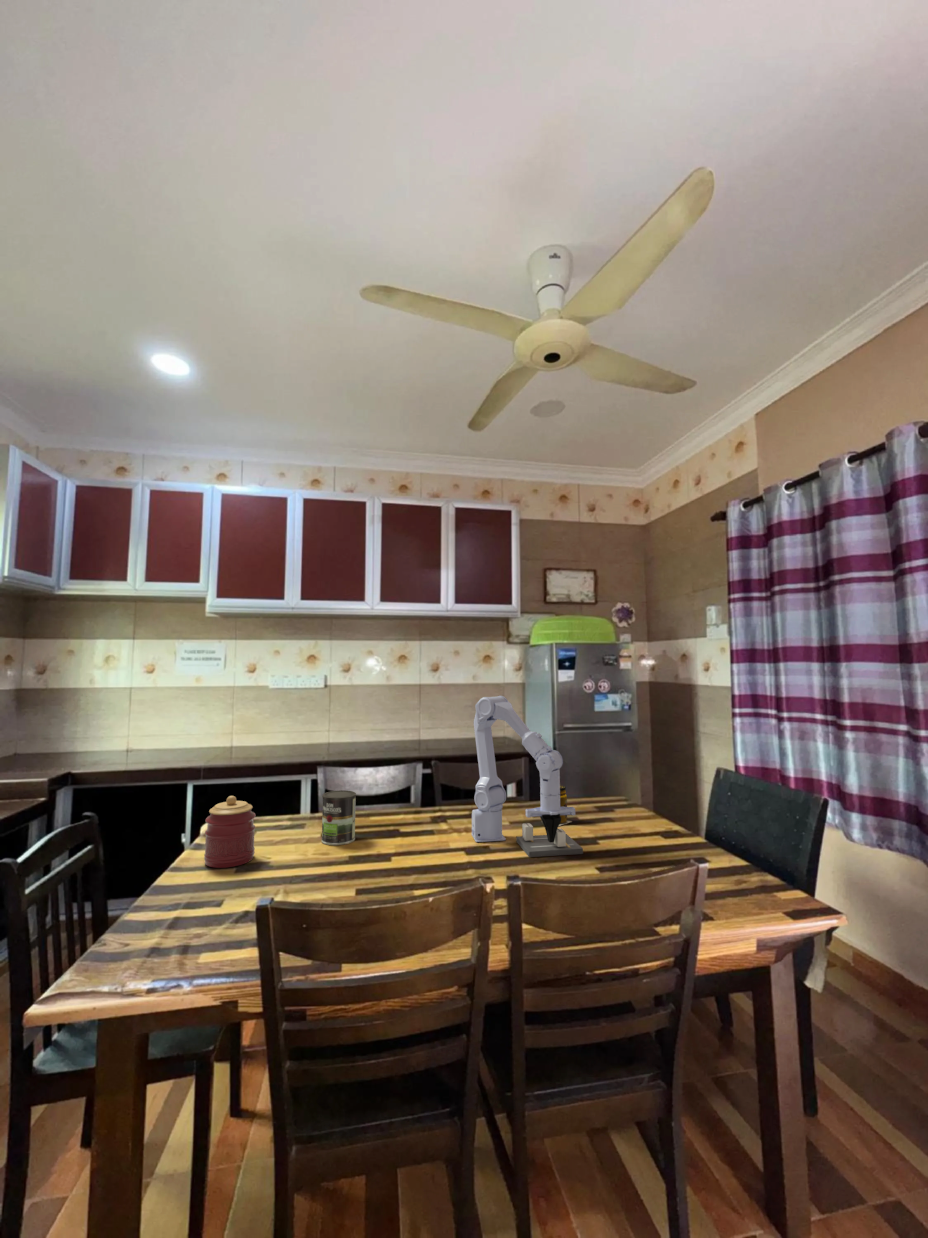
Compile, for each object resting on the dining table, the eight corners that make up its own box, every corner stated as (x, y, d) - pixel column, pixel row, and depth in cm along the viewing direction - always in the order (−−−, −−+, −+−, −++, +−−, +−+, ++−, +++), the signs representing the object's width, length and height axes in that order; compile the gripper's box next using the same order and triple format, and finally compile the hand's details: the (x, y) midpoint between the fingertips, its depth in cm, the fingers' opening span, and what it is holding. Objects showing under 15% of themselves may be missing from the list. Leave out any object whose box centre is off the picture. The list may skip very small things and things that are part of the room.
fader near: (557, 846, 160) (557, 832, 160) (553, 843, 163) (553, 828, 164) (565, 846, 160) (565, 831, 161) (561, 842, 164) (561, 828, 164)
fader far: (525, 840, 165) (525, 826, 166) (522, 837, 169) (522, 823, 169) (533, 840, 166) (533, 826, 166) (529, 836, 169) (529, 823, 170)
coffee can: (343, 847, 166) (343, 799, 167) (314, 843, 169) (315, 796, 171) (361, 837, 175) (362, 791, 176) (334, 833, 179) (335, 789, 180)
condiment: (572, 822, 191) (571, 786, 192) (557, 827, 185) (557, 790, 186) (555, 818, 197) (554, 783, 198) (540, 822, 191) (540, 787, 192)
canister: (243, 849, 164) (244, 788, 165) (262, 860, 155) (264, 796, 156) (196, 860, 155) (199, 796, 156) (214, 873, 146) (216, 804, 147)
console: (529, 857, 156) (529, 851, 157) (516, 841, 170) (516, 836, 170) (583, 854, 159) (582, 848, 159) (566, 838, 173) (566, 833, 173)
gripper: (530, 797, 157) (530, 847, 156) (578, 795, 160) (579, 844, 159) (523, 792, 164) (523, 839, 163) (570, 790, 167) (571, 836, 166)
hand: (550, 841), depth 161 cm, fingers closed
